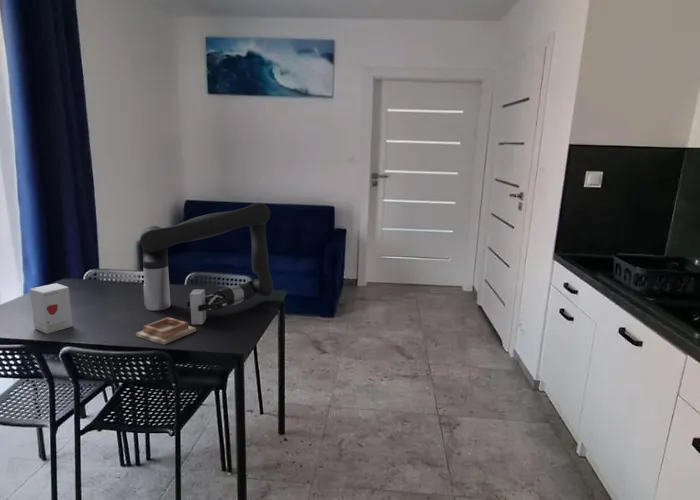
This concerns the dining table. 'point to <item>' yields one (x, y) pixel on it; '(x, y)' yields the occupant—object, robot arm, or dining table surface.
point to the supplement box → (51, 308)
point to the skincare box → (195, 300)
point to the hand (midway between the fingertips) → (192, 306)
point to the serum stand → (165, 330)
